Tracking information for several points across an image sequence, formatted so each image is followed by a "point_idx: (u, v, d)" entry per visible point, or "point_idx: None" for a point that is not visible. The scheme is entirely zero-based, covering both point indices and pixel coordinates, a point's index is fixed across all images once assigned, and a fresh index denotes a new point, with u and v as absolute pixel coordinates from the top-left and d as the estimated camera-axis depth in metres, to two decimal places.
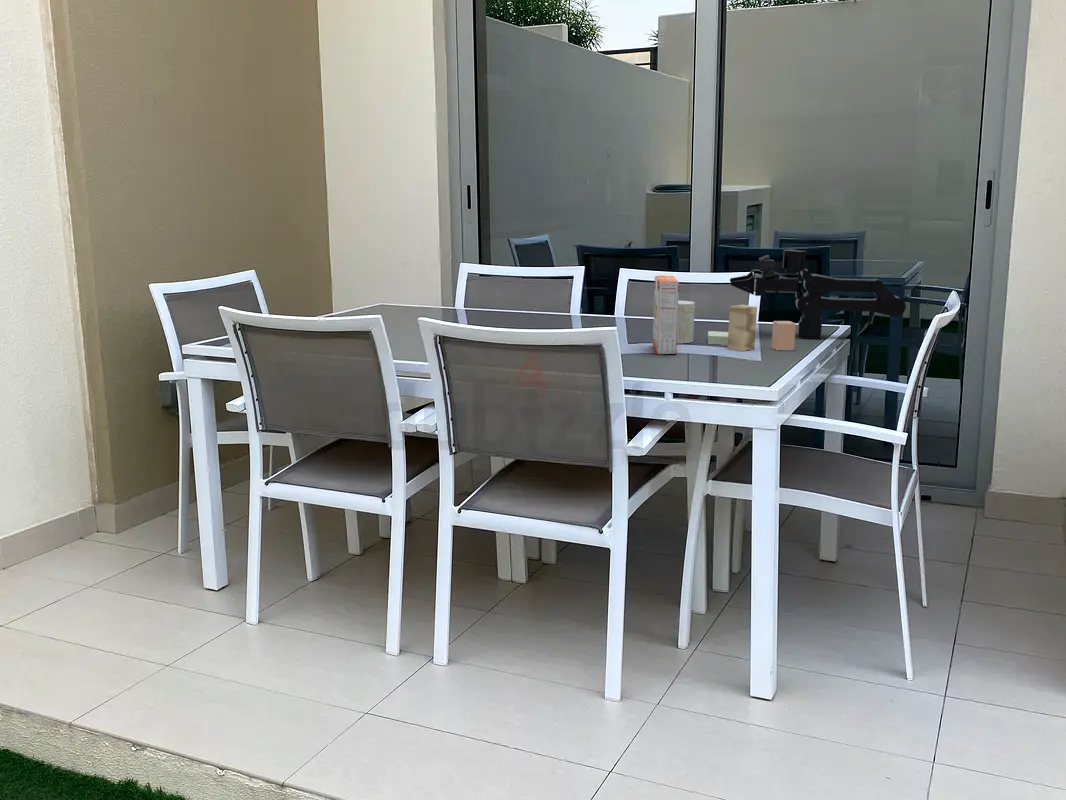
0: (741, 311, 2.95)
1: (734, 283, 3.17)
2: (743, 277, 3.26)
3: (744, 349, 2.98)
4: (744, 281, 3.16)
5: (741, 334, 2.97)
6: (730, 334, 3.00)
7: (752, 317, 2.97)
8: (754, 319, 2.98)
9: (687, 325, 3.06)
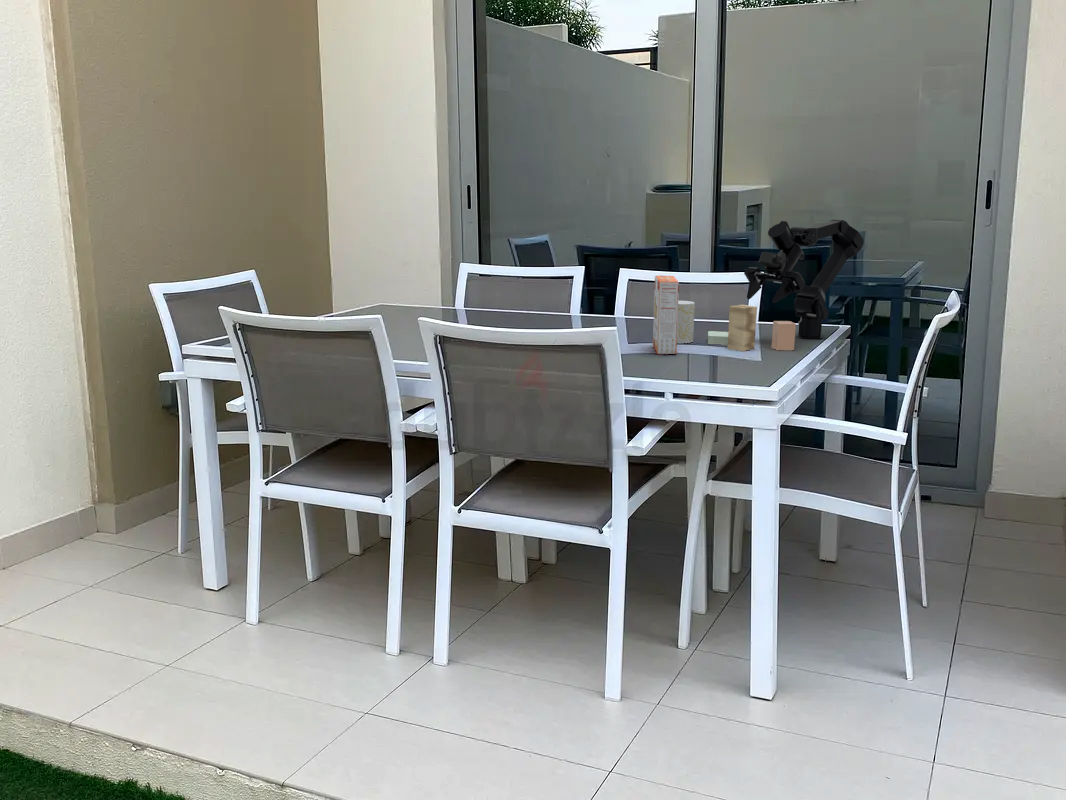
0: (741, 311, 2.95)
1: (776, 299, 2.99)
2: (752, 285, 3.07)
3: (744, 349, 2.98)
4: (782, 290, 2.99)
5: (741, 334, 2.97)
6: (730, 334, 3.00)
7: (752, 317, 2.97)
8: (754, 319, 2.98)
9: (687, 325, 3.06)
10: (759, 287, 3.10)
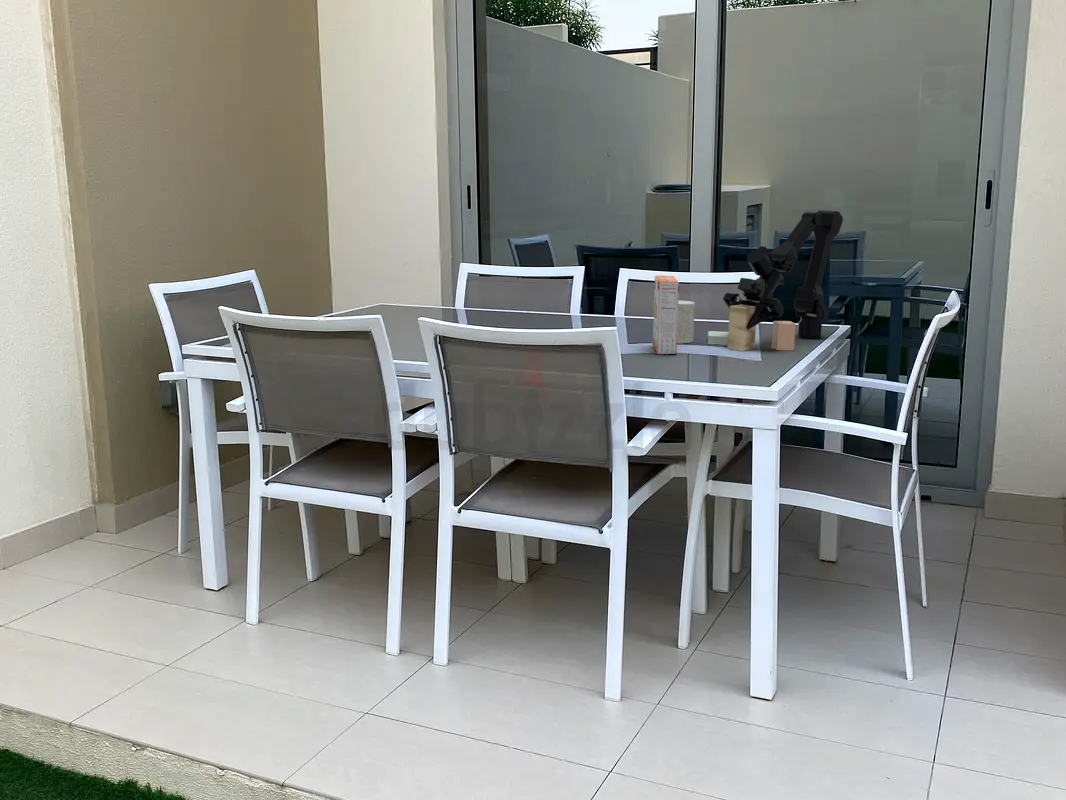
0: (741, 311, 2.95)
1: (750, 325, 2.96)
2: None
3: (744, 349, 2.97)
4: (756, 316, 2.96)
5: (741, 334, 2.97)
6: (730, 334, 3.00)
7: None
8: None
9: (687, 325, 3.06)
10: None
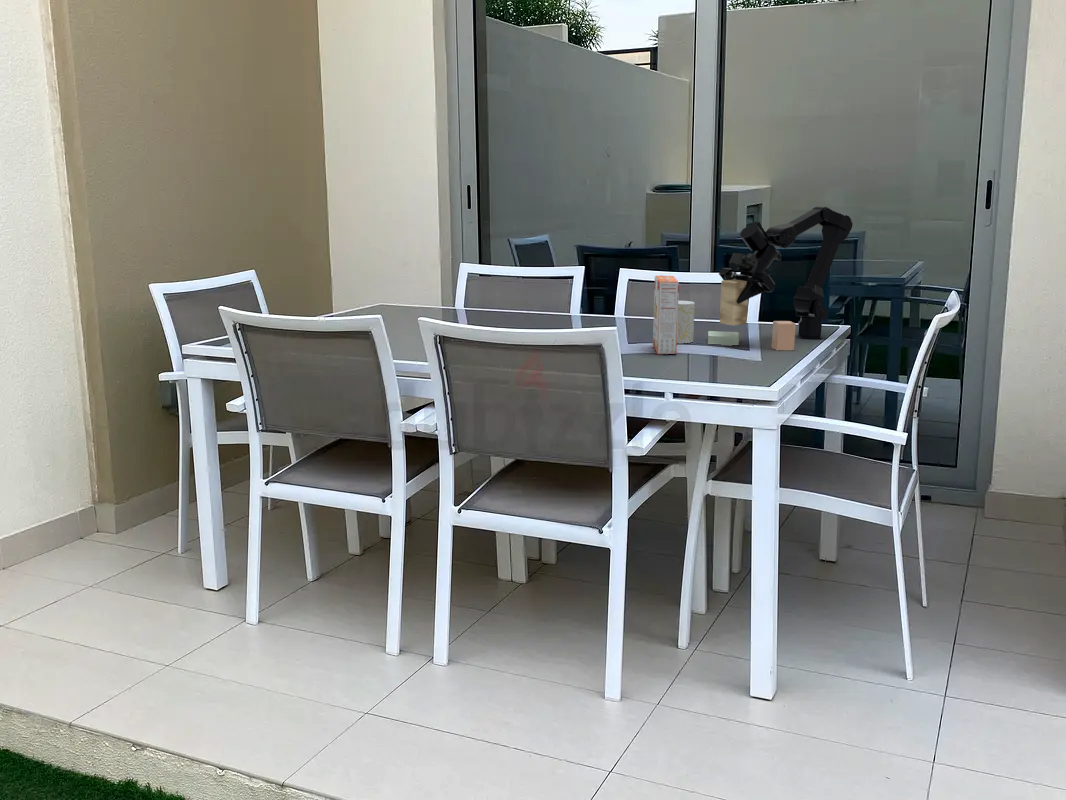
0: (731, 285, 2.99)
1: (740, 299, 2.99)
2: None
3: (734, 323, 3.01)
4: (747, 290, 2.99)
5: (731, 308, 3.00)
6: (721, 309, 3.03)
7: None
8: None
9: (687, 325, 3.06)
10: None
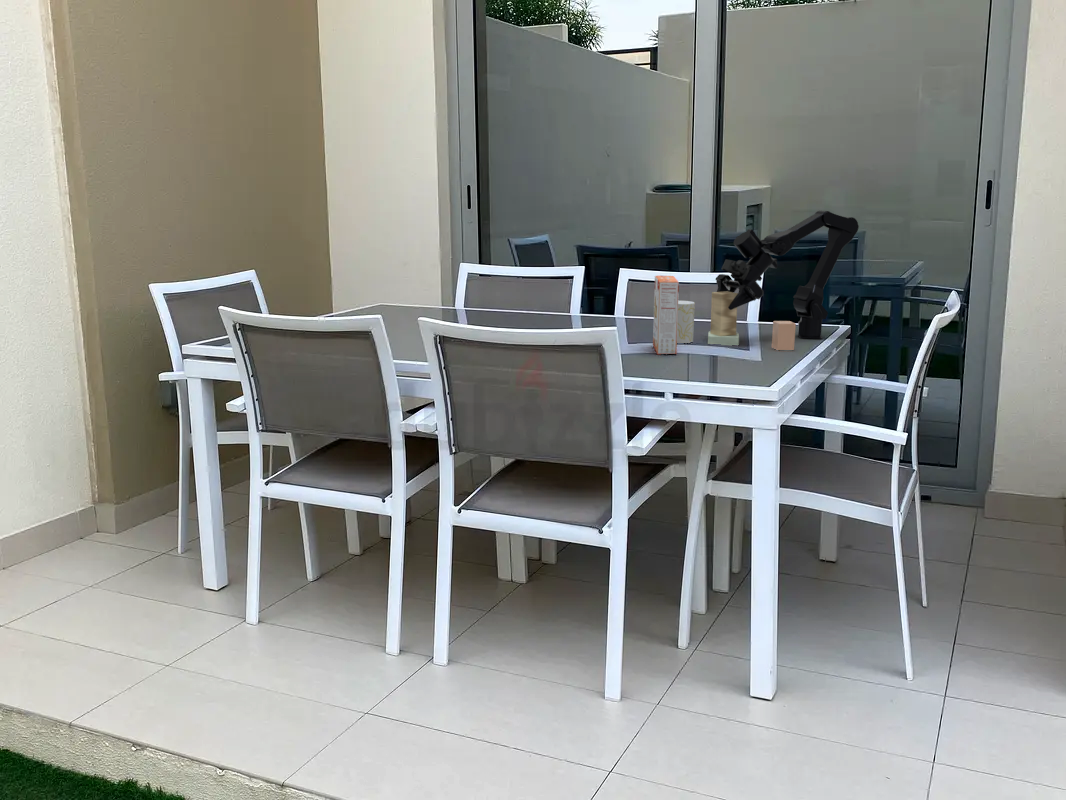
0: (719, 297, 3.06)
1: (732, 306, 3.04)
2: None
3: (722, 334, 3.07)
4: (738, 297, 3.03)
5: (719, 319, 3.07)
6: (712, 319, 3.11)
7: None
8: None
9: (687, 325, 3.06)
10: None
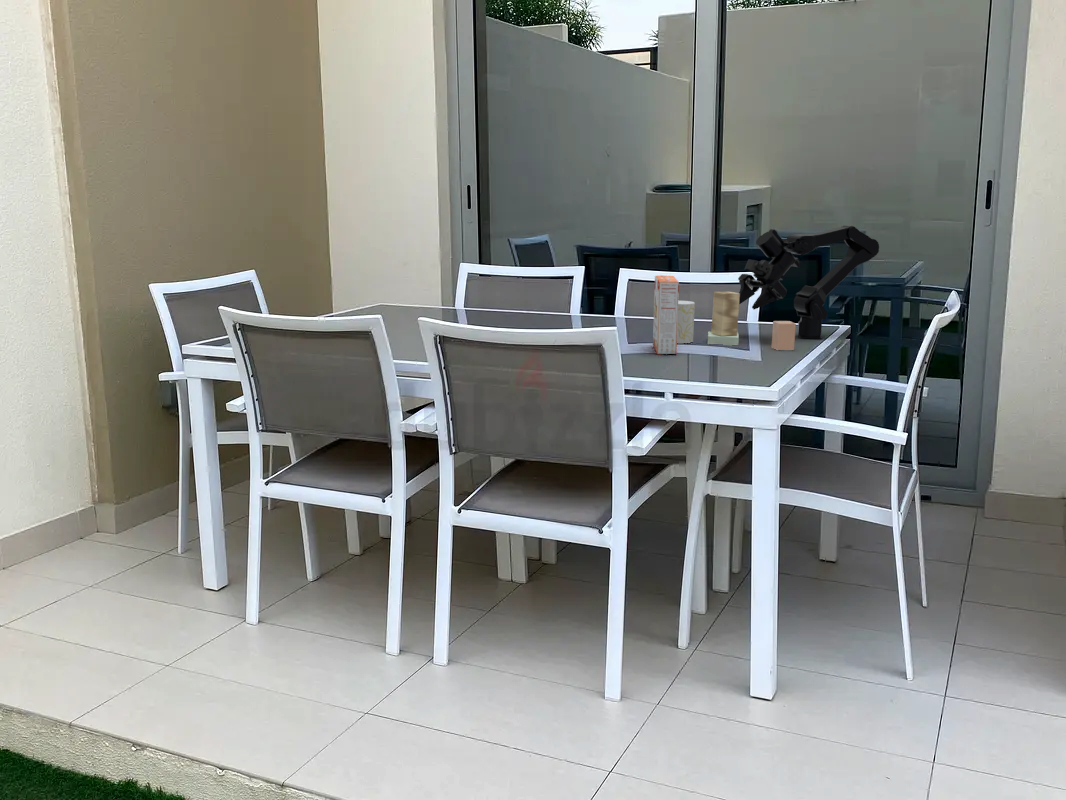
0: (721, 296, 3.06)
1: (756, 305, 3.07)
2: (742, 292, 3.16)
3: (723, 334, 3.07)
4: (762, 297, 3.06)
5: (720, 318, 3.07)
6: (713, 319, 3.10)
7: (733, 303, 3.06)
8: (736, 305, 3.07)
9: (687, 325, 3.06)
10: (752, 293, 3.17)
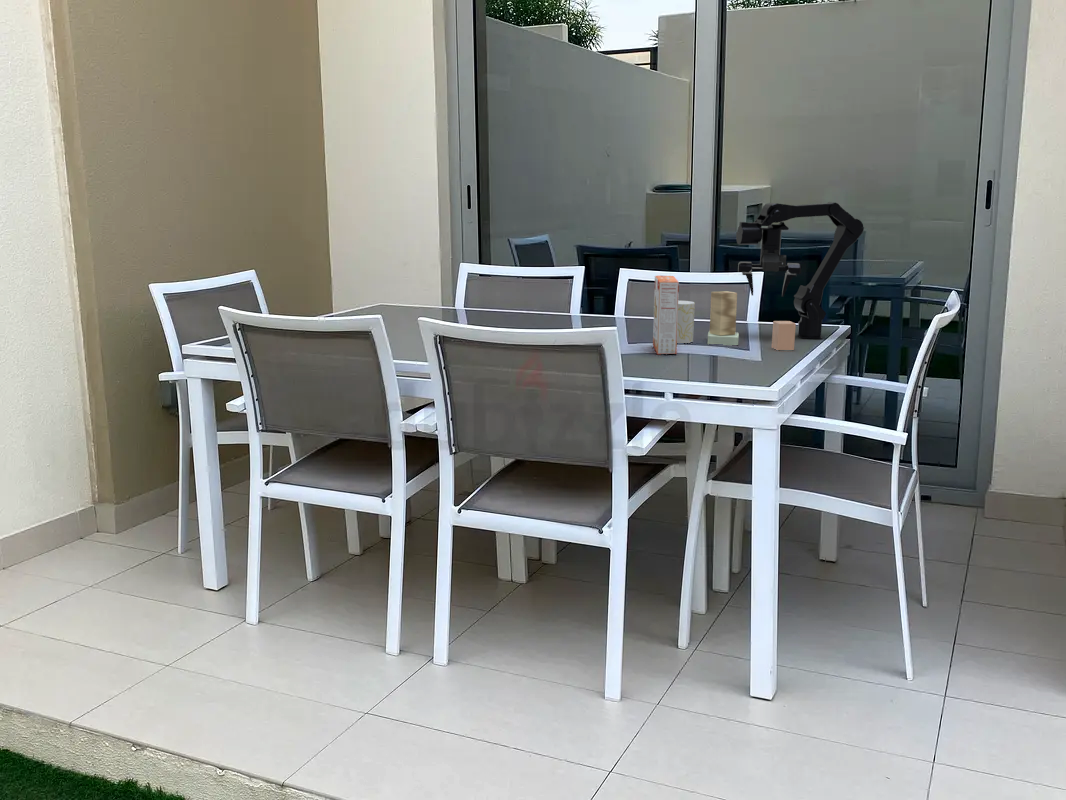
0: (719, 296, 3.06)
1: (784, 293, 3.17)
2: (752, 282, 3.17)
3: (722, 333, 3.08)
4: None
5: (719, 318, 3.07)
6: (711, 319, 3.11)
7: (731, 302, 3.07)
8: (734, 305, 3.08)
9: (687, 325, 3.06)
10: None
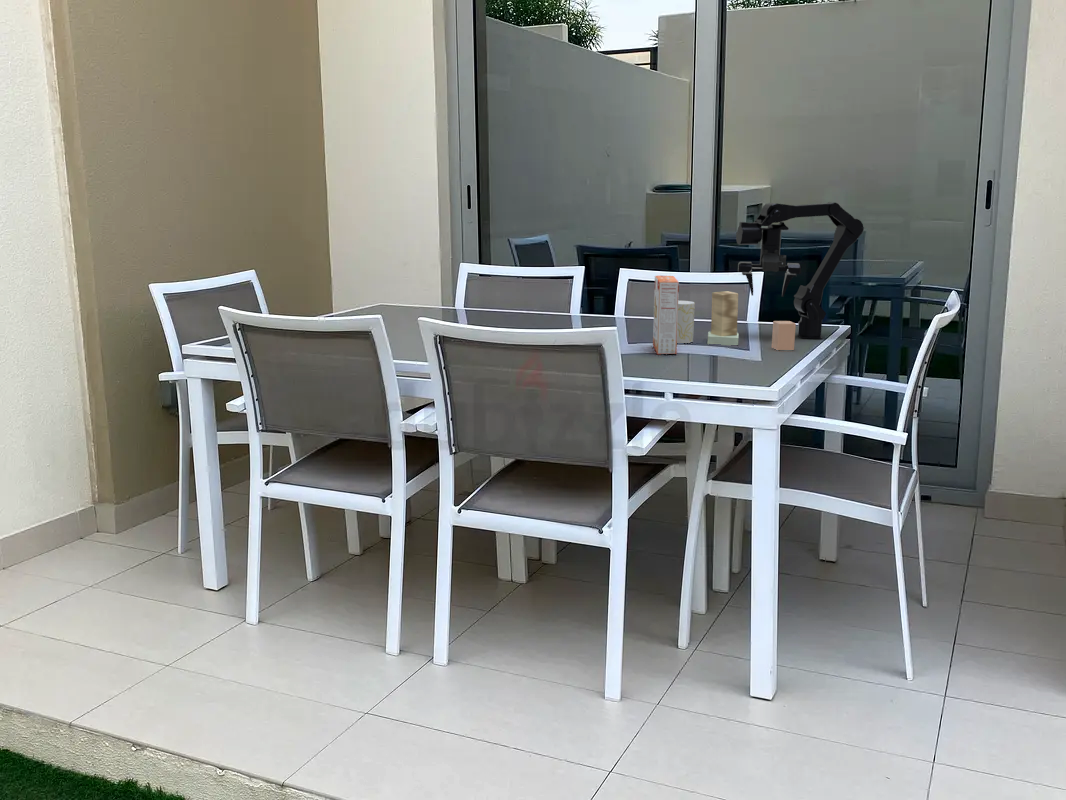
0: (720, 297, 3.06)
1: (784, 293, 3.17)
2: (752, 282, 3.17)
3: (724, 334, 3.08)
4: None
5: (720, 319, 3.07)
6: (712, 320, 3.11)
7: (732, 303, 3.07)
8: (735, 305, 3.07)
9: (687, 325, 3.06)
10: None
